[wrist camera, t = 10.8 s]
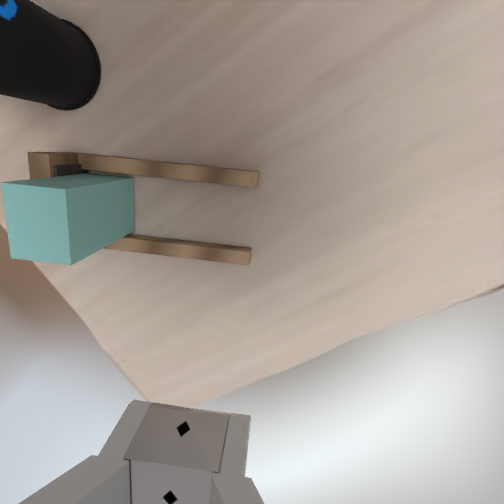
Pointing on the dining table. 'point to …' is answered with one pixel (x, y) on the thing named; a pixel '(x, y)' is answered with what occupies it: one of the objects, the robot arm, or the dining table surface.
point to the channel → (80, 163)
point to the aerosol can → (45, 57)
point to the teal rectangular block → (67, 215)
